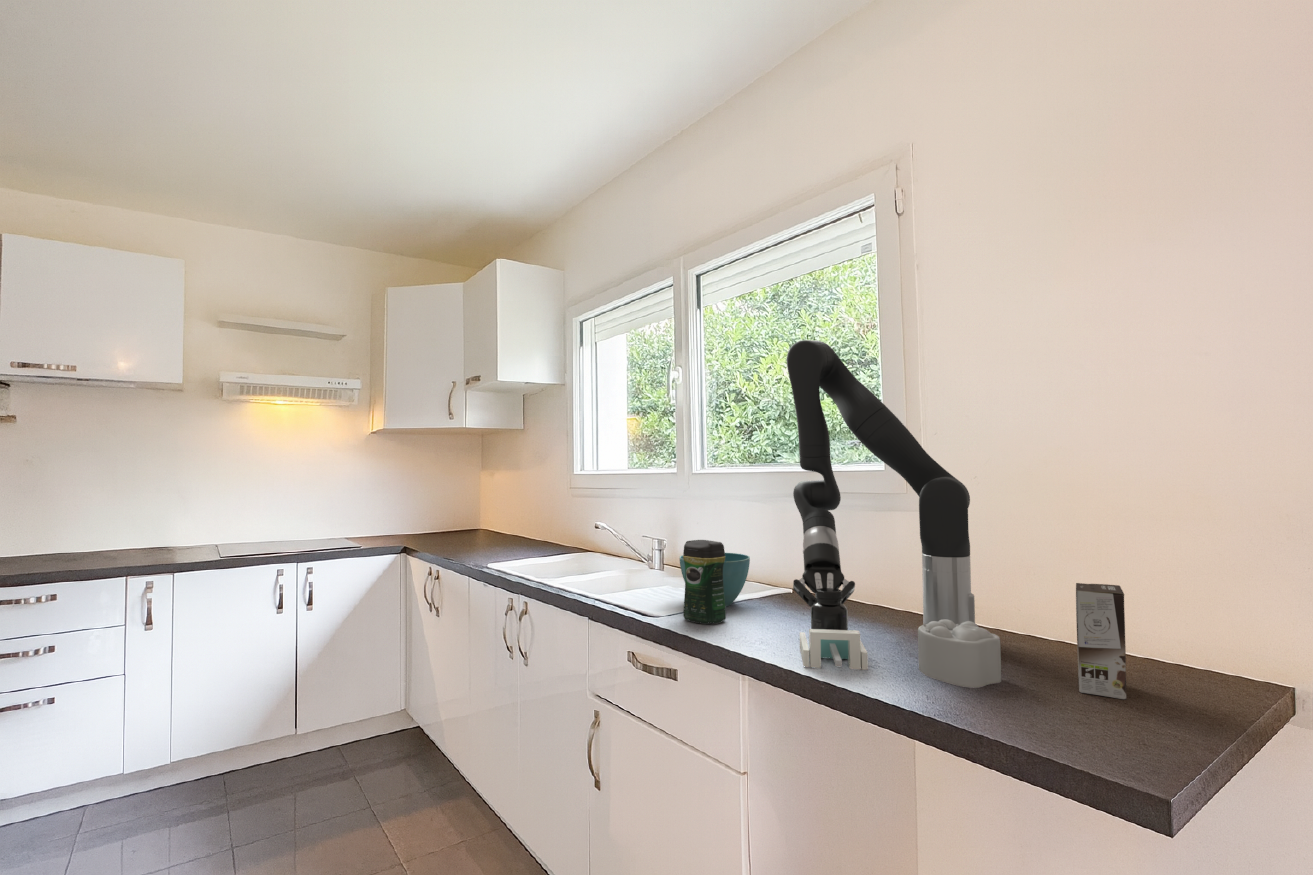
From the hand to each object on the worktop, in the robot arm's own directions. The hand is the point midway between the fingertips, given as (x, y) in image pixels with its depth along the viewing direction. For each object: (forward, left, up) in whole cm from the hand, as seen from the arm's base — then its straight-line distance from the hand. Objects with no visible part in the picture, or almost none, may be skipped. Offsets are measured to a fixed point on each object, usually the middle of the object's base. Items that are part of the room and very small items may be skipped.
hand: (826, 623), depth 132 cm
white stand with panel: (0, +7, -5) cm, 9 cm away
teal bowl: (+25, -39, -5) cm, 46 cm away
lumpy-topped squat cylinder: (-20, +14, -5) cm, 25 cm away
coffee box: (-41, +18, -5) cm, 45 cm away
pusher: (0, +13, -4) cm, 14 cm away
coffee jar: (+26, -20, -5) cm, 33 cm away
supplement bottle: (0, +4, -5) cm, 6 cm away
